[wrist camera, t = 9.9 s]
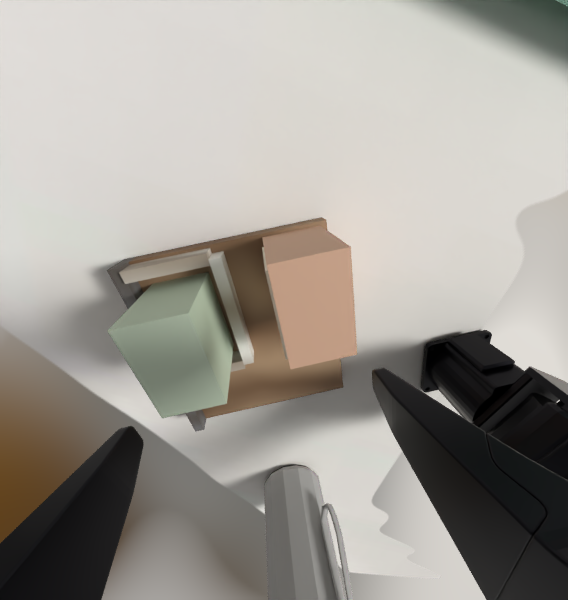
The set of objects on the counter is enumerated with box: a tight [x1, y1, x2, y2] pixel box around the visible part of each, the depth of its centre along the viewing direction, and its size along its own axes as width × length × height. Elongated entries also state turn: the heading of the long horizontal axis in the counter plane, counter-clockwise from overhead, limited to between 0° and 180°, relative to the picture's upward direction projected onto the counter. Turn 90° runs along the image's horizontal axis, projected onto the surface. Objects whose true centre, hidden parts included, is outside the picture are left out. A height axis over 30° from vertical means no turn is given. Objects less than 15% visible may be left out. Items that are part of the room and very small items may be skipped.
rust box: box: [262, 225, 357, 369], centre depth 16 cm, size 4×6×6 cm, turn 11°
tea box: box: [108, 272, 234, 418], centre depth 16 cm, size 4×6×6 cm, turn 11°
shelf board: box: [107, 218, 343, 431], centre depth 20 cm, size 16×14×3 cm
